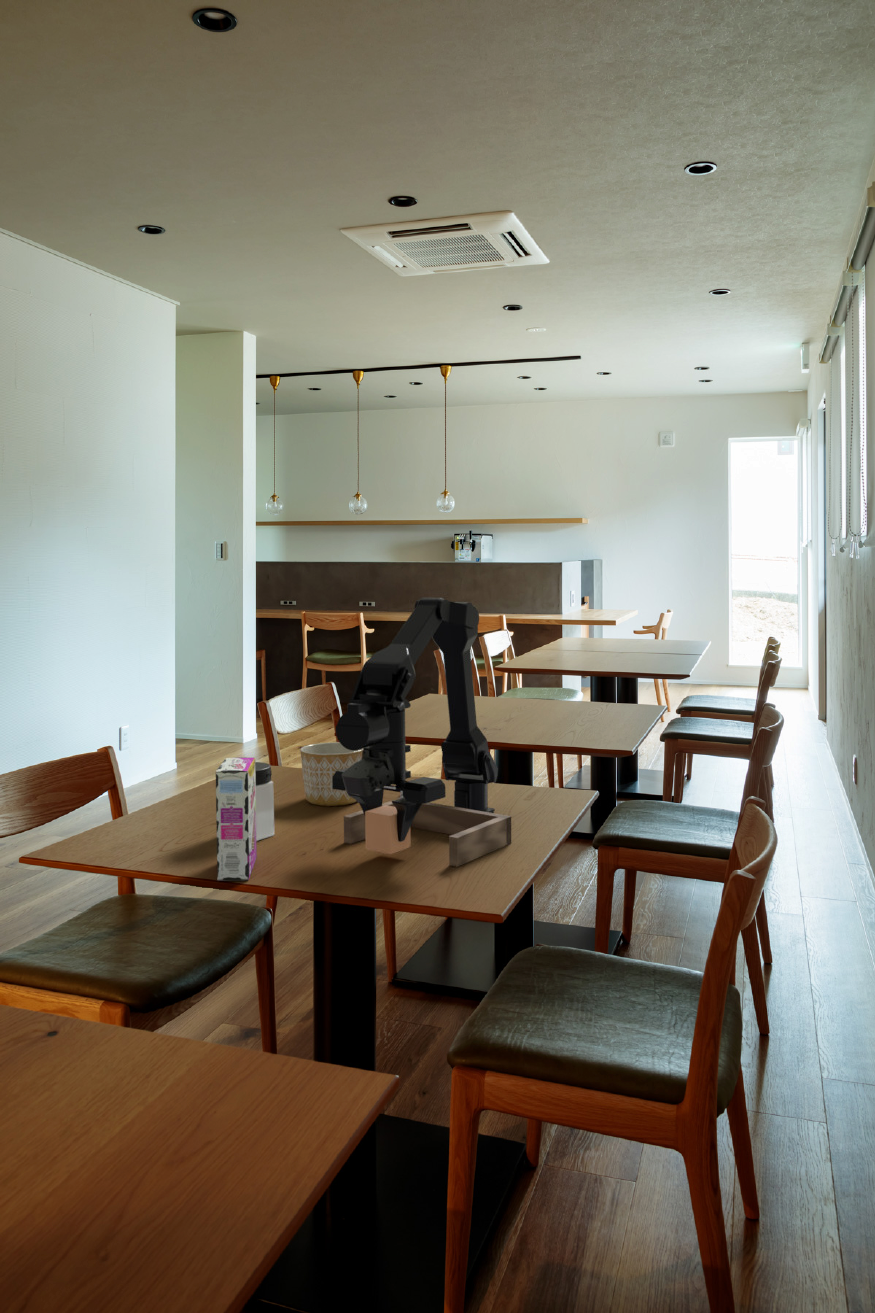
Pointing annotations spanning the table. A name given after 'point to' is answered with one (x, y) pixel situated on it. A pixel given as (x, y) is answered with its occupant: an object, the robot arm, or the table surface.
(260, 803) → the jar
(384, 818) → the terracotta block
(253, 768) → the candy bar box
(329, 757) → the planter
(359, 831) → the walnut pen
